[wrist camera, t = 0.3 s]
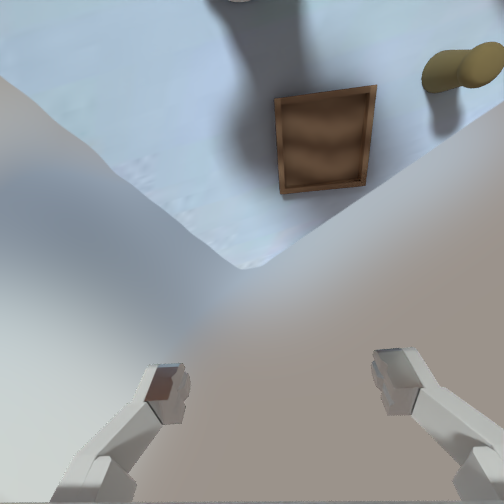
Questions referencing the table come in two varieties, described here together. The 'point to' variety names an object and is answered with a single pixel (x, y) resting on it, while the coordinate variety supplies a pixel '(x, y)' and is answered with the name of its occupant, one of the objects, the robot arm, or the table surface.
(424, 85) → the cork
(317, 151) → the walnut tray
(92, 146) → the table surface
